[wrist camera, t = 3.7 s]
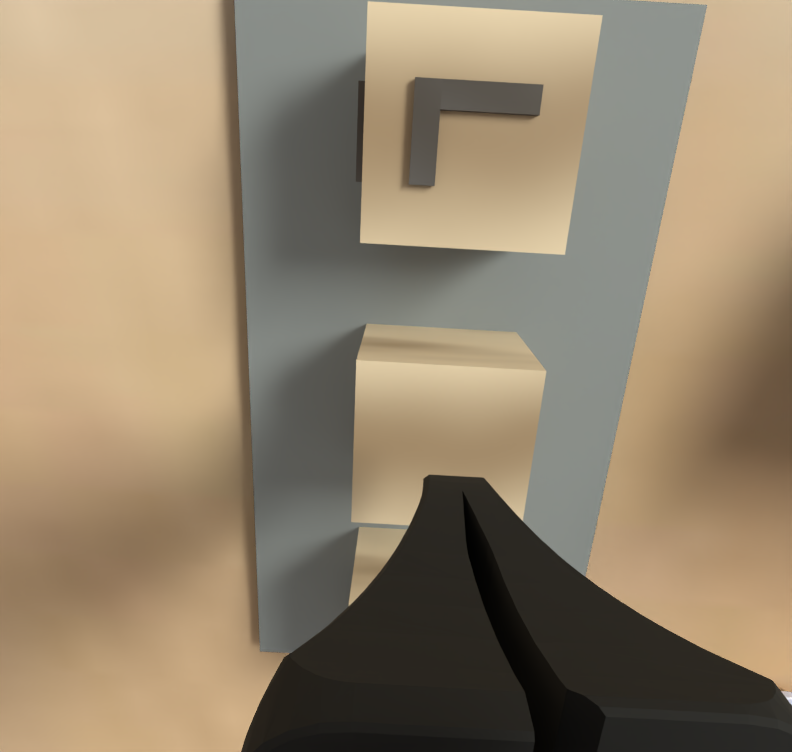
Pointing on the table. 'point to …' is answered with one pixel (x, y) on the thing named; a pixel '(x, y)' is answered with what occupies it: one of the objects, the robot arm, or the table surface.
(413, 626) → the robot arm
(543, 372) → the plain block
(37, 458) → the table surface
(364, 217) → the block seven
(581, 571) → the slate mat
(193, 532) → the table surface
